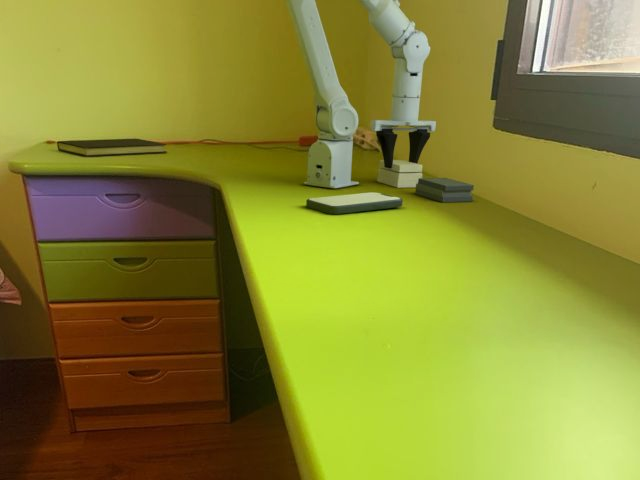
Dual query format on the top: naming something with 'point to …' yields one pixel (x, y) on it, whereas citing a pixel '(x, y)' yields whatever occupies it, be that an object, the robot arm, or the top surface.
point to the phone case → (353, 203)
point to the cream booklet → (403, 166)
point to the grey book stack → (444, 189)
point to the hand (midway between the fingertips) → (400, 167)
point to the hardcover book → (111, 147)
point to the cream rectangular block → (398, 178)
